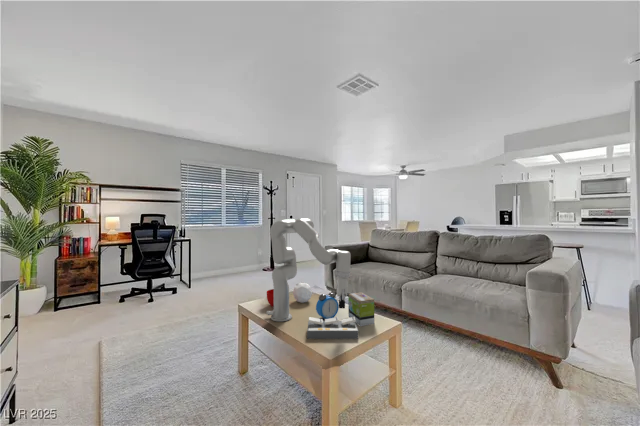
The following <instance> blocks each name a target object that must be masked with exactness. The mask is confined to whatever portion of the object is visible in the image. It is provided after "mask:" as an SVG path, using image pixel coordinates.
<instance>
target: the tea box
mask: <svg viewBox="0 0 640 426" xmlns="http://www.w3.org/2000/svg"><path fill="white" fill-rule="evenodd" d="M347 296H348V297H347V301H348V318H350V317H355V320H356V325H358V326H359V327H363V326H369V324H370V325H375V298H373V297H371V296H369V295H368V294H365V293H364V292H356V293H355V292H353V293H347Z"/></svg>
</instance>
